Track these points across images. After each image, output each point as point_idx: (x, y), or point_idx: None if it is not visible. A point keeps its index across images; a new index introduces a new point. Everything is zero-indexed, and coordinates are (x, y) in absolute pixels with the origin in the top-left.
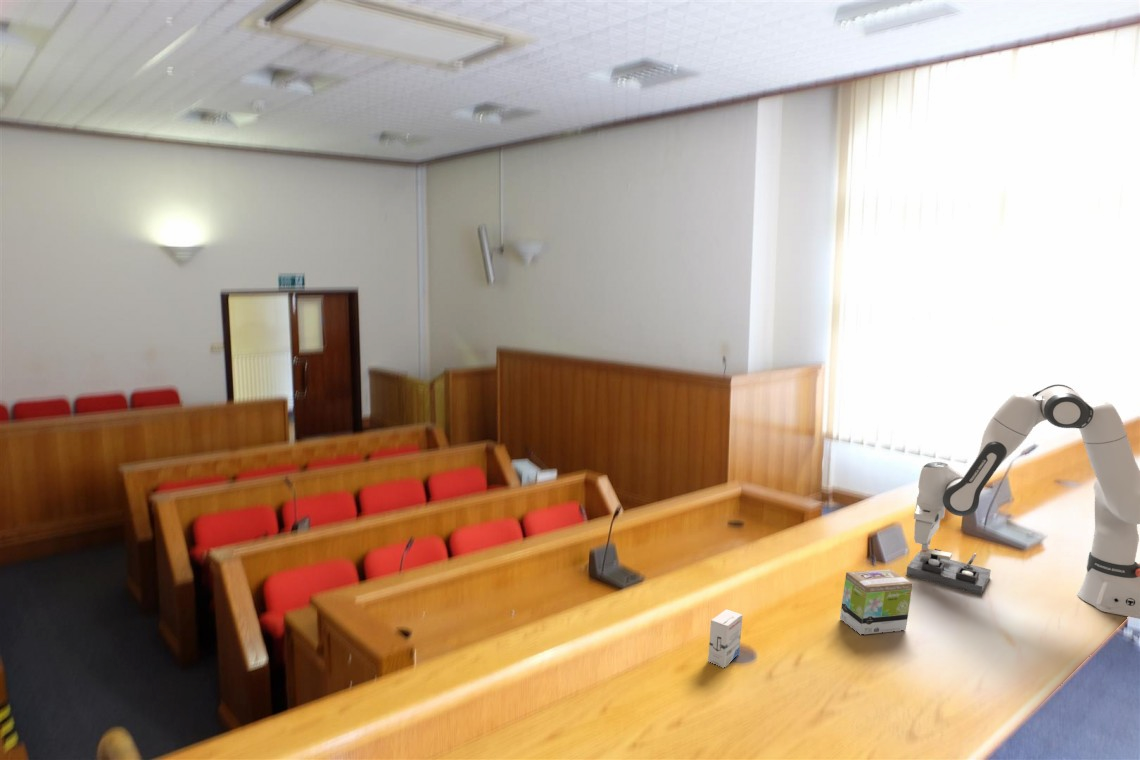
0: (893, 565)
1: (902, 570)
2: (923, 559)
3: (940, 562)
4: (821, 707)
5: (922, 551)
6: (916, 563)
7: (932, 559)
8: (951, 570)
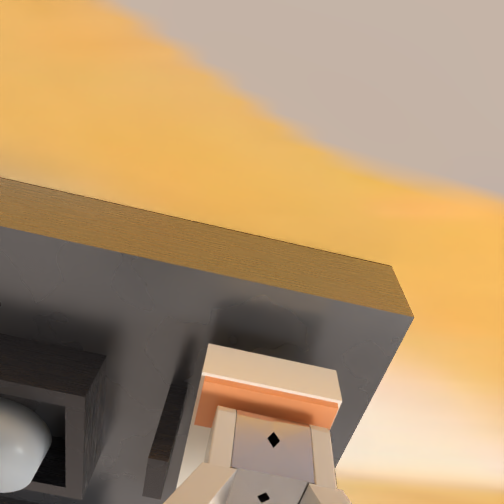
0: (112, 35)
1: (40, 132)
2: (200, 344)
3: (70, 478)
4: None
5: (200, 392)
6: (44, 284)
7: (7, 454)
8: (94, 485)
